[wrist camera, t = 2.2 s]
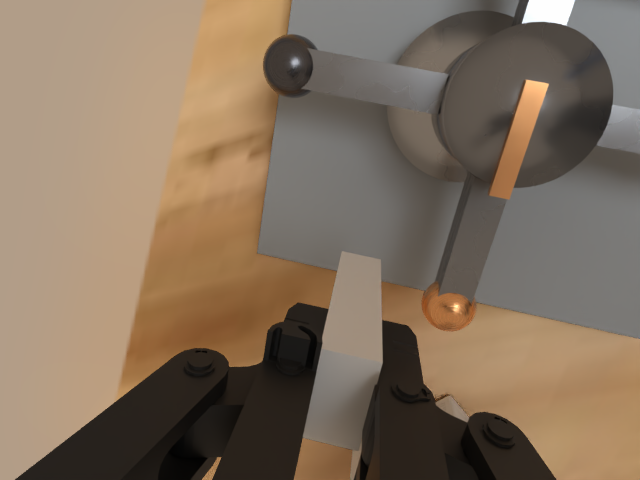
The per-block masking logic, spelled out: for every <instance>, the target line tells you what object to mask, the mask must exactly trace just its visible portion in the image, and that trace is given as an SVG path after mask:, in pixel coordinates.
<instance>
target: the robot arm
mask: <svg viewBox="0 0 640 480" xmlns="http://www.w3.org/2000/svg"><path fill="white" fill-rule="evenodd" d="M417 347H418V345H417V339H416V335H415V334H414V333H413V332H412V330H411V329H410V328H409V326H407V325H402V324H398V323H393V322H389V321H384V320H382V294H381V259H376V258H372V257H367V256H362V255H358V254H353V253H348V252H344V251H342V253H341V257H340V262H339V266H338V270H337V275H336V279H335V284H334V288H333V292H332V297H331V301H330V306H329V309H325V308H321V307H316V306H312V305H307V304H303V303H297V304H296V305H294V306H293V307H291V308H290V309H289V310H288V312H287V315H286V317H285V320H284V322H280V323H277V324H275V325H272V326H271V328H270V329H269V330H268V333H267V339H266V346H265V352H264V358H263V361H262V362H261V363H259V364H257V365H253V366H249V367H229V362H228V361H227V359H226V358H225V356H223V355H222V354H220V353H219V352H217V351H214V350H210V349H206V348H194V349H190V350H185V351H183V352H181V353H179V354H177V355H176V356H174V357H173V358H172V359H170V360H169V361H168V362H167V363H165V364H164V365H163V366H161V367H160V368H159V369H158V370H156V371H155V372H154V373H152V374H151V375H150V376H148V377H147V378H146V379H145V380H143V381H142V382H141V383H139V384H138V385H137V386H136V387H134V388H133V389H132V390H130V391H129V392H128V393H126V394H125V395H124V396H123V397H121V398H120V399H119V400H117V401H116V402H115V403H114V404H112V405H111V406H110V407H108V408H107V409H106V410H105V411H103V412H102V413H101V414H99V415H98V416H97V417H96V418H94V419H93V420H92V421H90V422H89V423H88V424H86V425H85V426H84V427H82V428H81V429H80V430H79V431H77V432H76V433H75V434H73V435H72V436H71V437H70V438H68V439H67V440H66V441H65V442H63V443H62V444H61V445H59V446H58V447H57V448H55V449H54V450H53V451H52V452H50V453H49V454H48V455H46V456H45V457H44V458H42V459H41V460H40V461H38V462H37V463H36V464H35V465H33V466H32V467H31V468H29V469H28V470H27V471H26V472H24V473H23V474H22V475H20V476H19V477H18V478H17V479H15V480H202V478H203V477H204V476H205V474H206V473H207V472H208V471H209V469H210V468H211V467H212V466H213V464H214V462H215V460H216V458H217V457H222V458H221V460H220V463H219V465H218V467H217V470H216V472H215V474H214V477H213V479H212V480H294V476H295V471H296V466H297V462H298V457H299V452H300V447H301V443H302V438H306V439H310V440H314V441H318V442H322V443H326V444H330V445H334V446H338V447H343V448H347V449H351V450H355V451H359V447H360V444H361V440H362V449H361V455H360V459H359V462H358V466H357V469H356V473H355V477H354V480H556V478H555V477H554V476H553V474H552V473H551V471H550V470H549V468H548V467H547V466H546V464H545V463H544V461H543V460H542V458H541V457H540V456H539V454H538V453H537V451H536V450H535V448H534V447H533V446H532V444H531V443H530V441H529V440H528V438H527V437H526V436H525V435H524V433H523V432H522V431H521V430H520V429H519V428H518V427H517V426H515V425H514V424H513V423H511V422H510V421H508V420H507V419H505V418H503V417H500V416H498V415H496V414H492V413H487V412H480V413H475V414H473V415H472V416H470V417H469V420H468V422H465V421H463V420H461V419H459V418H457V417H454V416H452V415H450V414H448V413H447V412H445V411H443V410H442V409H440V408H439V407H438V406H436V404H435V399H434V396H433V394H432V392H431V391H430V390H429V389H428V388H427V387H426V385H425V384H424V383H423V377H422V371H421V364H420V358H419V352H418V348H417Z"/></svg>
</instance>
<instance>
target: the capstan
mask: <svg viewBox="0 0 640 480" xmlns="http://www.w3.org/2000/svg"><path fill="white" fill-rule="evenodd" d="M574 1H575V0H519V2H518V6H517V9H516V12H515V16H514V17H512V16H509V15H507V14H503V13H499V12H494V11H484V10H482V11H469V12H463V13H459V14H456V15H453V16H450V17H447V18H445V19H443V20H441V21H439V22H437V23H435V24H434V25H432V26H431V27H429V28H427V29H426V30H425V31H424V32H423V33H421V34H420V35H419V36H418V37H417V38H416V39H415V40H414V41H413V42H412V43H411V44H410V45H409V47H408V48H407V49H406V51H405V52H404V53H403V55H402V56H401V58H400V60H399V62H398V63H397V65H396V64H390V63H385V62H379V61H374V60H369V59H363V58H358V57H352V56H347V55H342V54H336V53H331V52H325V51H320V50H318V49H317V47H316V46H315V45H314V44H313V43H312V42H311V41H310V40H309V39H307V38H305V37H303V36H301V35H296V34H288V35H284V36H281V37H279V38H277V39H276V40H275V41H273V42H272V43H271V45H270V46H269V47H268V49H267V51H266V53H265V56H264V61H263V70H264V75H265V78H266V80H267V82H268V84H269V85H270V87H271V88H272V89H273V90H274V91H275V92H277V93H278V94H280V95H282V96H284V97H288V98H300V97H303V96H305V95H307V94H309V93H310V92H312V91H316V92H322V93H327V94H332V95H337V96H342V97H348V98H353V99H358V100H363V101H368V102H374V103H379V104H384V105H387V115H388V122H389V126H390V130H391V133H392V135H393V138H394V140H395V142H396V144H397V146H398V148H399V149H400V150H401V152H402V153H403V155H404V156H405V157H406V158H407V159H408V160H409V161H410V162H411V163H412V164H413V165H414V166H416V167H417V168H418V169H419V170H421V171H423V172H424V173H426V174H428V175H430V176H433V177H435V178H437V179H441V180H445V181H450V182H460V183H464V186H463V189H462V192H461V196H460V199H459V202H458V205H457V209H456V212H455V215H454V219H453V222H452V225H451V229H450V232H449V235H448V239H447V242H446V245H445V249H444V252H443V255H442V259H441V262H440V265H439V269H438V272H437V275H436V279H435V282H434V283H432V284H431V285H430V286H429V287H428V288H427V289H426V290H425V292H424V294H423V298H422V310H423V313H424V316H425V317H426V319H427V320H428V321H429V323H430V324H432V325H433V326H434V327H436V328H438V329H440V330H443V331H457V330H460V329H462V328H464V327H466V326H467V325H468V324H469V323H470V322H471V321H472V319H473V318H474V315H475V312H476V300H475V297H474V296H475V293H476V290H477V287H478V284H479V281H480V278H481V275H482V272H483V269H484V266H485V263H486V260H487V257H488V254H489V251H490V249H491V246H492V243H493V240H494V237H495V234H496V231H497V228H498V225H499V222H500V219H501V216H502V213H503V210H504V207H505V204H506V201H507V199H508V200H509V199H510V196H511V193H512V190H513V188H524V187H532V186H537V185H541V184H544V183H547V182H550V181H552V180H555V179H557V178H559V177H561V176H563V175H564V174H566V173H567V172H569V171H571V170H572V169H573V168H575V167H576V166H577V165H578V164H580V163H581V162H582V161H583V160H584V159H585V158H586V157H587V156H588V155H589V154H590V152H591V151H592V150H593V149H594V147H595V146H596V145H597V146H602V147H607V148H612V149H618V150H623V151H628V152H633V153H638V154H640V110H639V109H633V108H628V107H623V106H617V105H613V81H612V77H611V72H610V69H609V66H608V64H607V62H606V59H605V58H604V56H603V54H602V53H601V51H600V50H599V49H598V47H597V46H596V45H595V44H594V43H593V42H592V41H591V40H590V39H589V38H587V37H586V36H585V35H584V34H582V33H580V32H579V31H577V30H575V29H573V28H570V27H568V26H566V25H567V22H568V19H569V16H570V13H571V10H572V7H573V4H574Z"/></svg>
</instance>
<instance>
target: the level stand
mask: <svg viewBox="0 0 640 480" xmlns="http://www.w3.org/2000/svg"><path fill="white" fill-rule="evenodd" d="M518 2H519V0H292V4H291V12H290V19H289V26H288V33H287V35H288V34H296V35H301V36H303V37H305V38H307V39H309V40H310V41H311V42H312V43H313V44H314V45H315V46H316V47H317V49H318V50H320V51H325V52H331V53H336V54H342V55H347V56H352V57H358V58H363V59H369V60H374V61H379V62H385V63H390V64H396V65H397V63H398V62H399V60H400V58H401V56H402V55H403V53H404V52H405V51H406V49H407V48H408V47H409V45H410V44H411V43H412V42H413V41H414V40H415V39H416V38H417V37H418V36H419V35H420V34H421V33H423V32H424V31H425V30H426V29H427V28H429V27H431V26H432V25H434V24H435V23H437V22H439V21H441V20H443V19H445V18H447V17H450V16H453V15H456V14H459V13H463V12H469V11H482V10H484V11H494V12H499V13H503V14H507V15H509V16H512V17H514V16H515V12H516V9H517V6H518ZM566 26H568V27H570V28H573V29H575V30H577V31H579V32H580V33H582V34H584V35H585V36H586V37H587V38H589V39H590V40H591V41H592V42H593V43H594V44H595V45H596V46H597V47H598V49H599V50H600V51H601V53H602V54H603V56H604V58H605V59H606V62H607V64H608V66H609V69H610V72H611V77H612V81H613V105H617V106H623V107H628V108H633V109H639V110H640V0H575V1H574V4H573V7H572V10H571V13H570V16H569V19H568V22H567V25H566ZM463 186H464V183H460V182H450V181H445V180H441V179H437V178H435V177H433V176H430V175H428V174H426V173H424V172H423V171H421V170H419V169H418V168H417V167H416V166H414V165H413V164H412V163H411V162H410V161H409V160H408V159H407V158H406V157H405V156H404V155H403V153H402V152H401V150H400V149H399V148H398V146H397V144H396V142H395V140H394V138H393V135H392V133H391V130H390V126H389V122H388V115H387V105H384V104H379V103H374V102H368V101H363V100H358V99H353V98H348V97H342V96H337V95H332V94H327V93H322V92H316V91H312V92H310V93H309V94H307V95H305V96H303V97H300V98H288V97H284V96H282V95H280V94H279V98H278V106H277V113H276V120H275V127H274V134H273V142H272V149H271V156H270V163H269V171H268V178H267V185H266V192H265V199H264V207H263V214H262V221H261V228H260V236H259V243H258V250H257V253H259V254H263V255H268V256H272V257H276V258H281V259H285V260H290V261H294V262H299V263H303V264H308V265H312V266H317V267H321V268H326V269H330V270H334V271H337V270H338V266H339V262H340V257H341V253H342V251H344V252H348V253H353V254H358V255H362V256H367V257H372V258H376V259H381V281H384V282H388V283H393V284H397V285H401V286H406V287H410V288H415V289H419V290H424V291H425V290H426V289H427V288H428V287H429V286H430V285H431V284H432V283H434V282H435V279H436V275H437V272H438V269H439V265H440V262H441V259H442V255H443V252H444V249H445V245H446V242H447V239H448V235H449V232H450V229H451V225H452V222H453V219H454V215H455V212H456V209H457V205H458V202H459V199H460V196H461V192H462V189H463ZM474 297H475V300H476V302H477V303H482V304H486V305H491V306H495V307H500V308H504V309H509V310H513V311H517V312H522V313H526V314H531V315H535V316H540V317H544V318H549V319H553V320H558V321H562V322H567V323H571V324H575V325H580V326H584V327H589V328H593V329H598V330H602V331H607V332H611V333H616V334H620V335H625V336H629V337H633V338H638V339H640V154H638V153H633V152H628V151H623V150H618V149H612V148H607V147H602V146H597V145H596V146H595V147H594V149H593V150H592V151H591V152H590V154H589V155H588V156H587V157H586V158H585V159H584V160H583V161H582V162H581V163H580V164H578V165H577V166H576V167H575V168H573V169H572V170H571V171H569V172H567V173H566V174H564V175H563V176H561V177H559V178H557V179H555V180H552V181H550V182H547V183H544V184H541V185H537V186H532V187H524V188H513V190H512V193H511V196H510V199H509V200H508V199H507V201H506V204H505V207H504V210H503V213H502V216H501V219H500V222H499V225H498V228H497V231H496V234H495V237H494V240H493V243H492V246H491V249H490V251H489V254H488V257H487V260H486V263H485V266H484V269H483V272H482V275H481V278H480V281H479V284H478V287H477V290H476V293H475V296H474Z"/></svg>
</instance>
